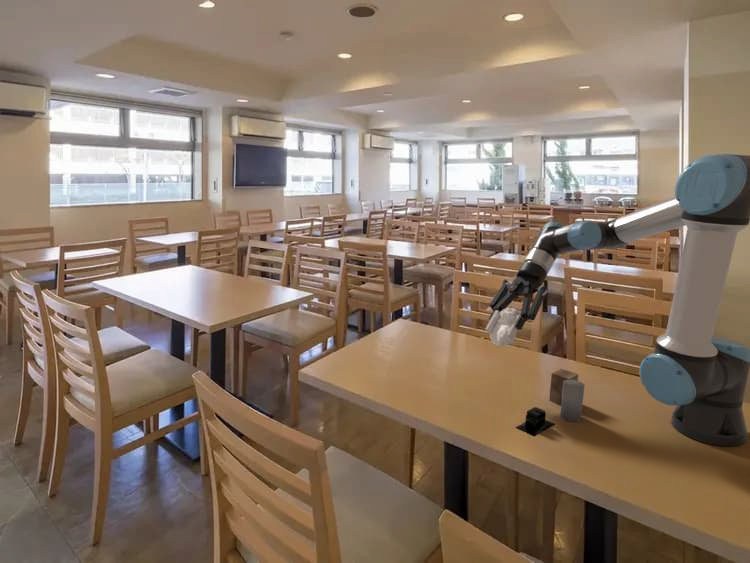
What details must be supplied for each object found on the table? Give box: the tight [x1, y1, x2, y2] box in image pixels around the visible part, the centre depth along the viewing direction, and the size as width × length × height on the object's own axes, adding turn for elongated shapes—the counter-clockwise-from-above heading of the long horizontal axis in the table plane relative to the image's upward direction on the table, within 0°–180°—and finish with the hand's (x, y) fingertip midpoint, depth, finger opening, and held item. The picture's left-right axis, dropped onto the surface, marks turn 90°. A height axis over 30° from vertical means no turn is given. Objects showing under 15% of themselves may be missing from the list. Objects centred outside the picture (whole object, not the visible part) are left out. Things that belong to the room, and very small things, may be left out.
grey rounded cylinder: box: [559, 380, 585, 422], centre depth 124 cm, size 5×5×9 cm
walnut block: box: [548, 368, 579, 406], centre depth 133 cm, size 5×5×8 cm
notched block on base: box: [515, 406, 556, 438], centre depth 120 cm, size 12×7×5 cm, turn 130°
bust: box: [489, 306, 520, 347], centre depth 135 cm, size 12×8×11 cm
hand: (498, 334), depth 132 cm, fingers closed on bust, 6 cm apart
